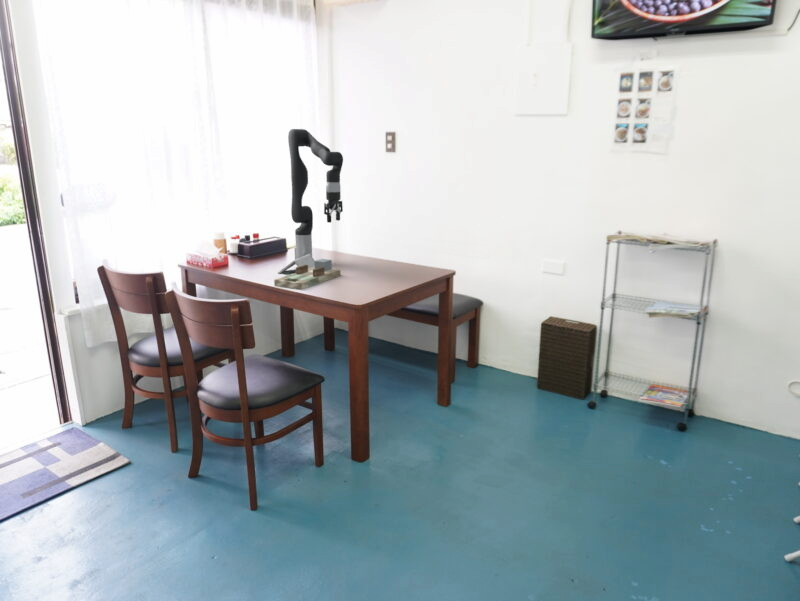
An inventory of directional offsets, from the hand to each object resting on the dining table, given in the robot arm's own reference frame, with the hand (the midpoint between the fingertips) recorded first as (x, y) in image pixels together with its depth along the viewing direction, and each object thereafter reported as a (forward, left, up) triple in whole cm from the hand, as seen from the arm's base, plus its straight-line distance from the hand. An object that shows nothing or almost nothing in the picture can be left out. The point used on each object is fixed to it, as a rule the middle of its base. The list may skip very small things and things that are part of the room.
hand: (333, 221), depth 304 cm
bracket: (-19, -7, -28) cm, 35 cm away
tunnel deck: (-1, -23, -28) cm, 36 cm away
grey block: (-1, -10, -25) cm, 27 cm away
